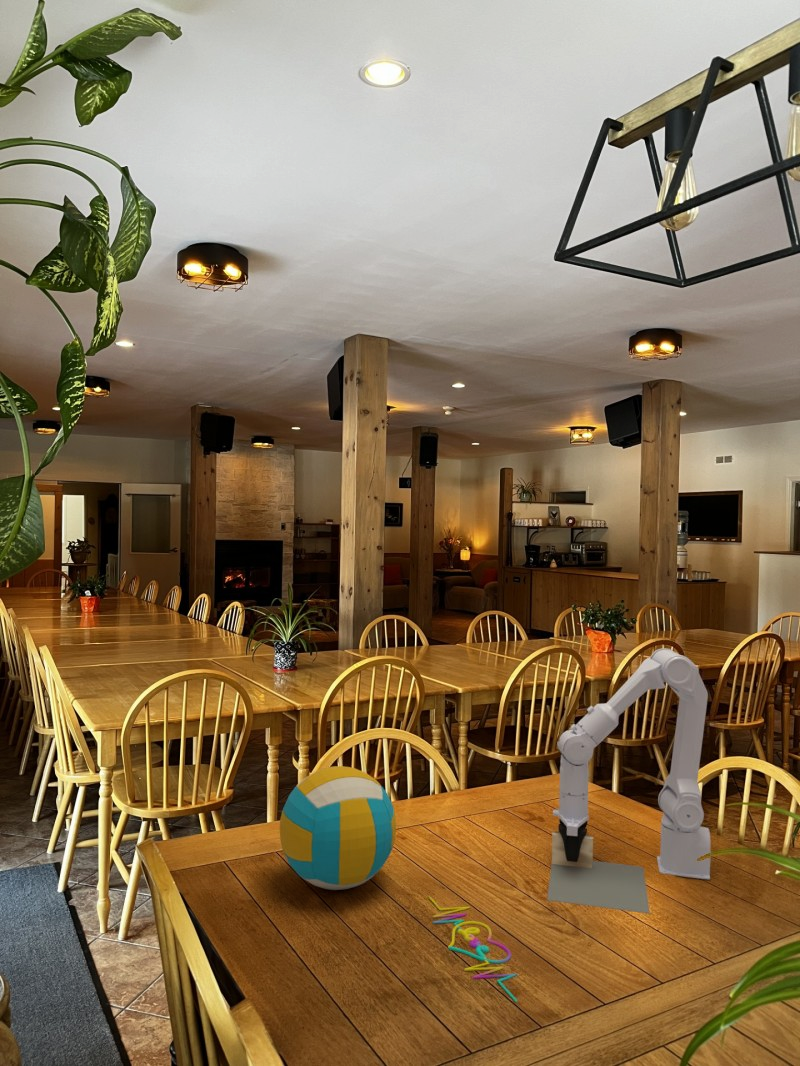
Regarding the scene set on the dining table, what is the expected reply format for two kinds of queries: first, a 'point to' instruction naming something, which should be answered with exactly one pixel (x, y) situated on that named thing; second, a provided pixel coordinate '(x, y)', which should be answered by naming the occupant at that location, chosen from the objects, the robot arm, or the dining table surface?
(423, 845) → the dining table surface
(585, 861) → the tile
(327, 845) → the volleyball
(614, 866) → the mat
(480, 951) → the decorative art
